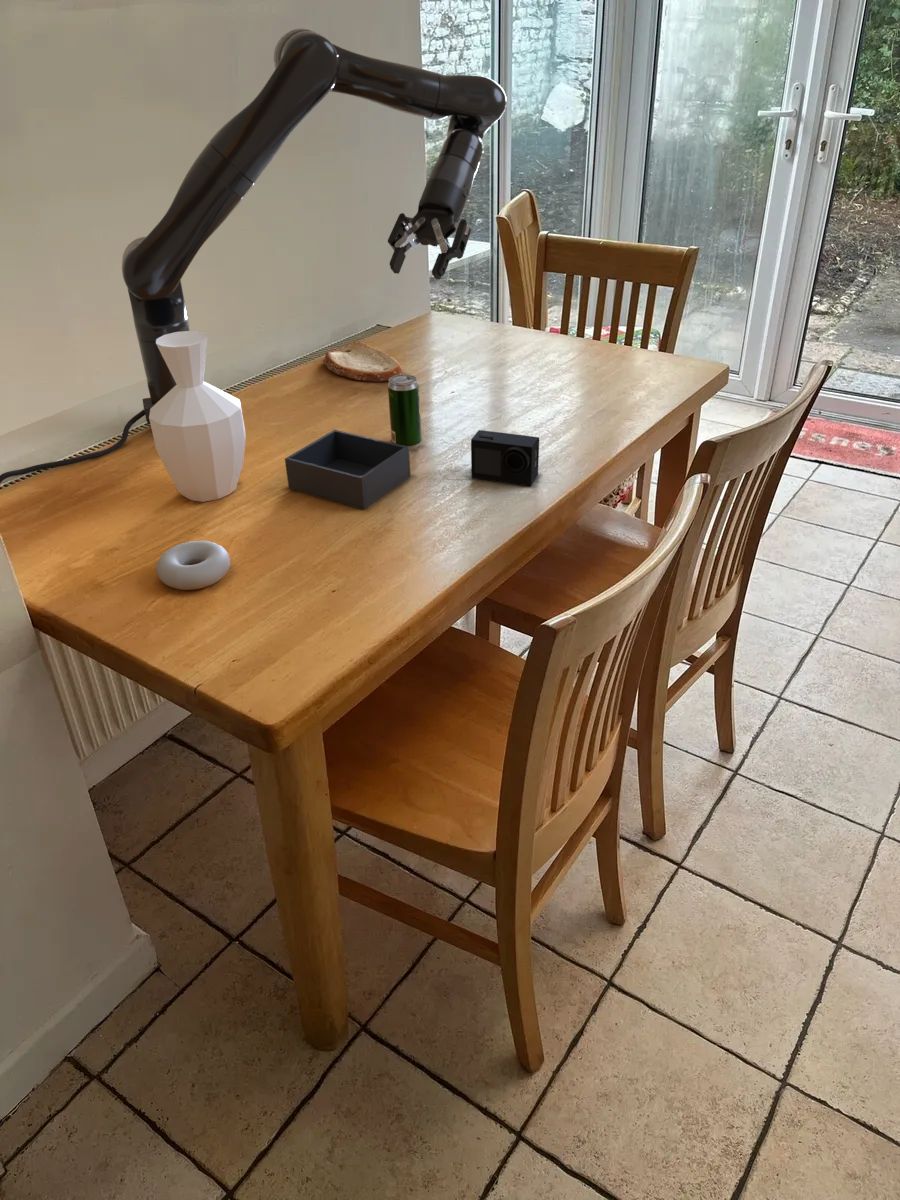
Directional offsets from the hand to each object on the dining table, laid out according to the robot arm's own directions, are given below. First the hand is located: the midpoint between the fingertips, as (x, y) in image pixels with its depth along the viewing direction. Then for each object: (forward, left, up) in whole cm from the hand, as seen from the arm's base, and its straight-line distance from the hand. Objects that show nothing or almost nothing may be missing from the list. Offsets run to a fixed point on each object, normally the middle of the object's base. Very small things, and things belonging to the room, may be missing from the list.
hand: (414, 273), depth 154 cm
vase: (-41, -15, -27) cm, 51 cm away
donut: (-46, -41, -27) cm, 67 cm away
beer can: (-6, -10, -27) cm, 29 cm away
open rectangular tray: (-19, -21, -27) cm, 39 cm away
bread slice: (-3, +32, -27) cm, 42 cm away
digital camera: (+5, -29, -27) cm, 40 cm away
